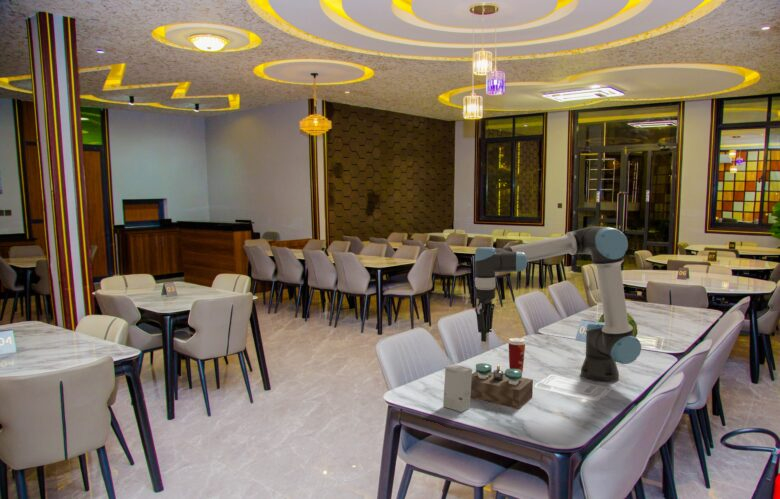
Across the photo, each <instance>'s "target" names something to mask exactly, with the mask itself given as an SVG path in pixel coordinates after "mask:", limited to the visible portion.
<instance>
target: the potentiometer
mask: <svg viewBox="0 0 780 499" xmlns="http://www.w3.org/2000/svg"><path fill="white" fill-rule="evenodd" d="M500 367H501V366H500V365H497V366H496V370H495V369H494V370H493V371H492V372H493V379H494V380H496V381H502V380H503V374H504V370H501V368H500Z"/></svg>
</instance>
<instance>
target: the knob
mask: <svg viewBox="0 0 780 499" xmlns="http://www.w3.org/2000/svg"><path fill="white" fill-rule="evenodd" d="M492 369H493V368H492V365H491V364H489V363H483V362H481V363H480V362H479V363H475V372H476V371H477V372H478V378H483V379H488V378H489V373H490V372H493V371H492Z"/></svg>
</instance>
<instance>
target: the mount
mask: <svg viewBox="0 0 780 499" xmlns="http://www.w3.org/2000/svg"><path fill="white" fill-rule="evenodd" d="M493 372H494V371H491V372H490V373H489V378H488V379H483V378H478V372H477V371H476V370H475V371H474V372H472V381H471V397H470V400H476V401H479V402H485V403H489V404H494V405H498V406H504V407H508V408H511V409H512V408H513V409H516V410H521V408H522V407H523V406H525V405H526V404H527V403H529V401H530V400H531V399H533V396H534V395H533V390H534V387H533V386H534V385H533V384H534V380H533V379H534V378H533V379H532V378H528V377H527V378H525V377H522V378H520V379H519V384H518V385H514V384H508V378H507V377H506V376H505V373H503V380H502V381H496V380H494V379H493Z"/></svg>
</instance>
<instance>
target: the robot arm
mask: <svg viewBox="0 0 780 499" xmlns="http://www.w3.org/2000/svg"><path fill="white" fill-rule="evenodd" d="M628 247H629V243H628V238H627V236H626V235H625V233H623V232H622V231H621V230H620V229H617V228H614V227H611V226H587V227H584V228H579V229H576V230H573V231H568V232H566V233H565V234H564V235H560V236H555V237H551V238H545V239H540V240H536V241H535V240H534V241H530V242H526V243H520V244H516V245H512V246H507V247H502V248H500V247H499V248H498V247H493V246H492V247H491V246H480V247H477V248H475V253H474V274H475V276H474V277H475V278H474V279H473V280H474V284H475V285H474V287H475V289H474V297H475V299H477V300H478V307H477V308H475V310H474V311H475V315H476V323H477V324H476V325H477V331H478V333H480V349H481V350H484V351H485V350H486V351H489V349H490V333H492V332H493V330H492V329H493V321H494V320H493V318H494V309H495V303H492V302H493V301H492V300H494V299H495V298H496V289H495V287H496V273H504V272H507V273H510V272H512V273H513V272H516V273H518V272H524V271H525V270H526V269H527V266H528V262H533V261H538V260H543V259H547V258H552V257H557V256H562V255H566V254H567V255H568V254H570V255H571V256H574V255H590V256H591V263H592V265H594V266H595V267H596V270H597V277H598V283H599V285H598V286H599V291H600V298H601V306H602V312H603V313H604V321H605V322H599V321H598V322H596V321H595V322H589V323H588V324H587V325H586V330H585V335H586V336H585V338H586V339H585V358H584V360H583V362H582V363H583V364H582V366H581V368H580V375H581V377H583V378H585V379H587V380H590V381H591V380H592V381H596V382H604V383H605V382H607V383H608V382H616V381H618V380H620V379H619V376H620V373H619V369H618V365H617V363H618V364H622V365H628V364H631V363H634V362H635V361H636V360H637V359H638V358H639V356H640V354H641V352H642V343H641V341H640V340H639V338H637V336H636V337H634V331H633V327H632V326H631V325H630V324H628V318H627V313H628V312H627V311H628V310H627V305H626V296H625V290H624V288H625V287H624V280H623V274H622V267H621V266H622V263H624V261H625V258H624V255H626V252H627V250H628ZM603 313H602V314H603Z"/></svg>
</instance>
